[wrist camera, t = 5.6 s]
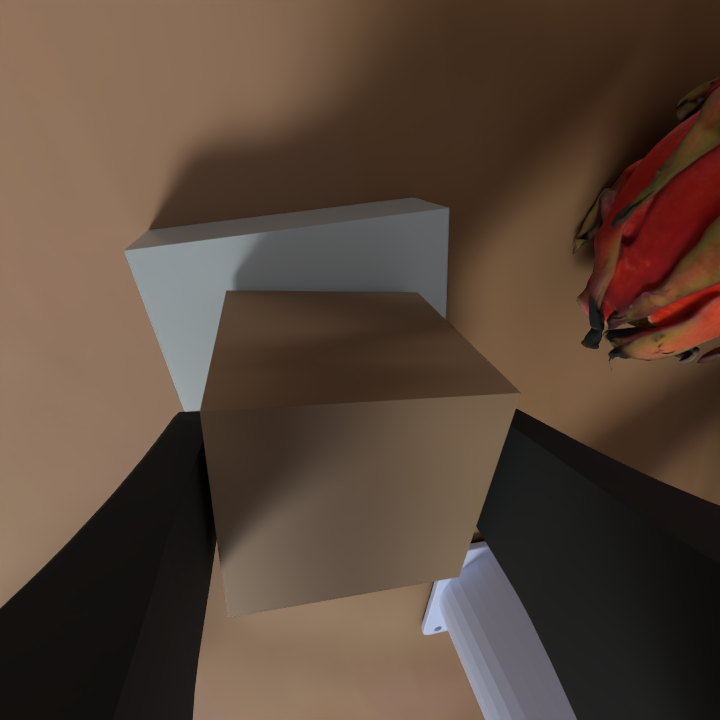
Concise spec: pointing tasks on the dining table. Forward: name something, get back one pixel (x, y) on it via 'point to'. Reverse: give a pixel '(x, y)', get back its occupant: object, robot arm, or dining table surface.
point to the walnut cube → (345, 444)
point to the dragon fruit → (661, 243)
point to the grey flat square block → (281, 269)
